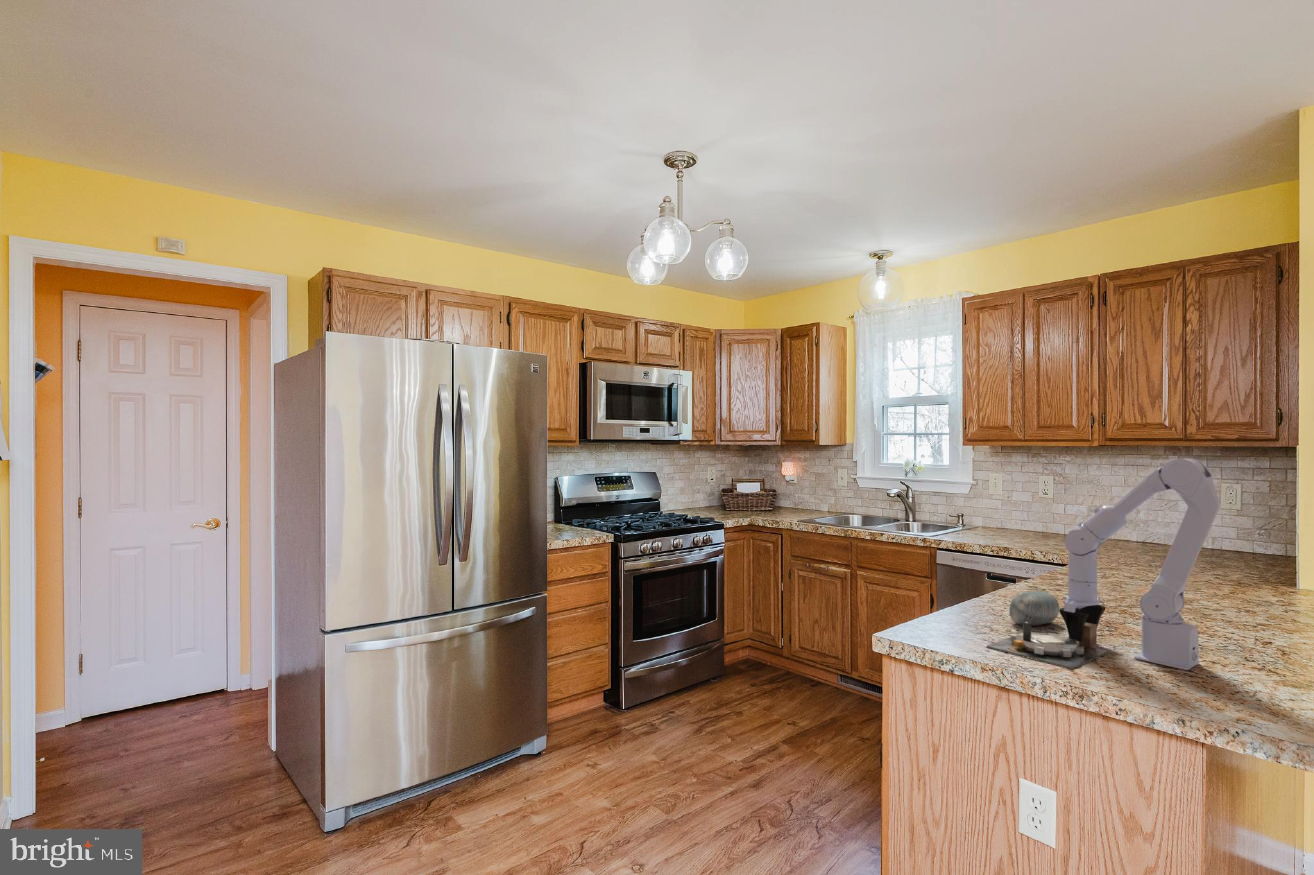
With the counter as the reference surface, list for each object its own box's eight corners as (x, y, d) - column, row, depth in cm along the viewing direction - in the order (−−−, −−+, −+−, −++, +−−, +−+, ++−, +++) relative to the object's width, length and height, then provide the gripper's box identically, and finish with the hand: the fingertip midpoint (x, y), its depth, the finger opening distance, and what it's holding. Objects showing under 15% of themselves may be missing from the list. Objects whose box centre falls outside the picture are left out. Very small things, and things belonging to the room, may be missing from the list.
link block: (1096, 645, 153) (1096, 624, 153) (1090, 648, 151) (1090, 626, 151) (1075, 641, 157) (1075, 620, 157) (1068, 643, 155) (1068, 622, 155)
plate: (1107, 653, 148) (1107, 650, 148) (1072, 669, 137) (1072, 667, 137) (1024, 634, 162) (1024, 631, 162) (986, 647, 152) (986, 645, 152)
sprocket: (1055, 637, 157) (1055, 613, 157) (1098, 656, 143) (1098, 631, 143) (998, 638, 157) (998, 614, 157) (1035, 658, 142) (1035, 632, 142)
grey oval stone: (1031, 602, 181) (1041, 575, 176) (1063, 626, 173) (1074, 598, 168) (995, 619, 176) (1004, 591, 171) (1026, 644, 168) (1036, 615, 163)
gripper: (1077, 573, 162) (1077, 629, 162) (1050, 581, 153) (1050, 639, 153) (1109, 578, 156) (1110, 636, 156) (1083, 586, 147) (1083, 647, 147)
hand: (1082, 638), depth 154 cm, fingers open, 7 cm apart
